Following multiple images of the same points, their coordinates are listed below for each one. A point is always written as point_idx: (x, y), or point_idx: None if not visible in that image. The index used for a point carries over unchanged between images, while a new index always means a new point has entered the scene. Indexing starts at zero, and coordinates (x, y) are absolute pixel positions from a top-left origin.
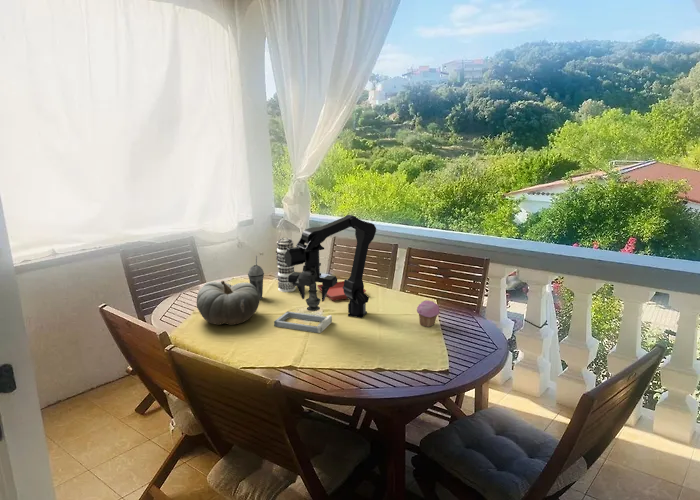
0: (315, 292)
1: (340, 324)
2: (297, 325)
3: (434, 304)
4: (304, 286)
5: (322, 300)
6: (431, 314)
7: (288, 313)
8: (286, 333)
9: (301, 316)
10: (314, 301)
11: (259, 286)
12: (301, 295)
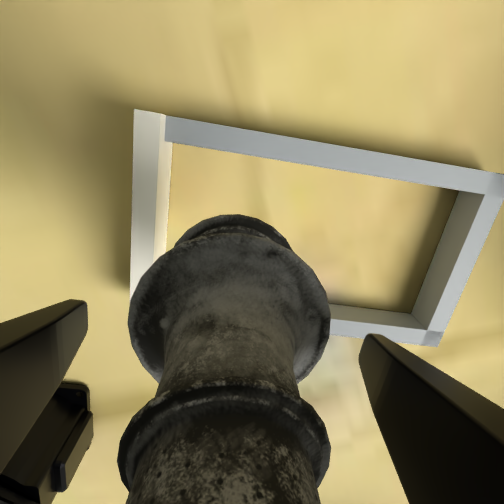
0: (151, 416)
1: (81, 277)
2: (331, 144)
3: None
4: None
5: (66, 305)
6: None
7: (425, 325)
8: (387, 62)
9: (337, 312)
10: (185, 269)
11: None
12: (420, 361)
